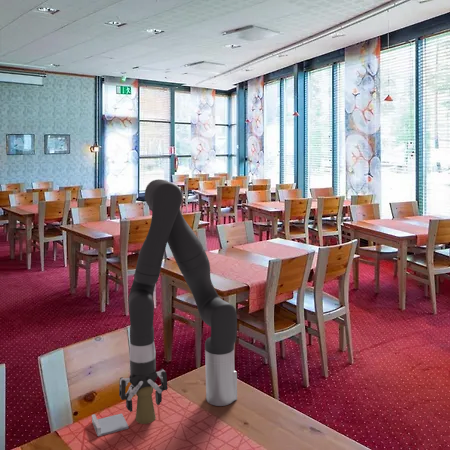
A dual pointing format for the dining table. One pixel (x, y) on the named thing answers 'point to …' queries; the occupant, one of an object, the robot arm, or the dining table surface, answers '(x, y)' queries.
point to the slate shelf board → (112, 424)
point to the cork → (145, 406)
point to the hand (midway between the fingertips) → (144, 407)
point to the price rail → (96, 425)
